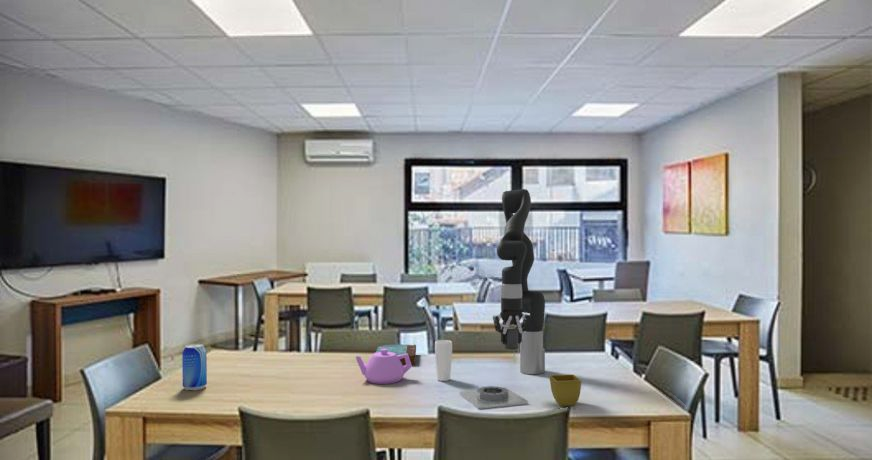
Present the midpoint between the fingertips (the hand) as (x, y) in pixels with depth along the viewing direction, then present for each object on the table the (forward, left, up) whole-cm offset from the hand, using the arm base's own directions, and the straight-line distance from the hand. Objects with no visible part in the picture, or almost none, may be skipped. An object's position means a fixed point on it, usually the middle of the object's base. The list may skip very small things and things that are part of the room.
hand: (511, 343), depth 217 cm
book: (+26, -66, -19) cm, 73 cm away
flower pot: (-12, +17, -18) cm, 28 cm away
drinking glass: (+17, -26, -18) cm, 36 cm away
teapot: (+39, -34, -18) cm, 55 cm away
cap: (0, 0, -2) cm, 2 cm away
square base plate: (+9, +4, -18) cm, 20 cm away
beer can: (+109, -45, -18) cm, 119 cm away
